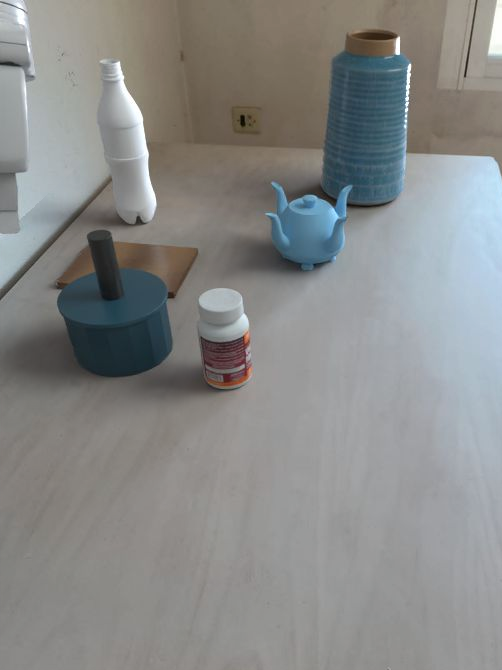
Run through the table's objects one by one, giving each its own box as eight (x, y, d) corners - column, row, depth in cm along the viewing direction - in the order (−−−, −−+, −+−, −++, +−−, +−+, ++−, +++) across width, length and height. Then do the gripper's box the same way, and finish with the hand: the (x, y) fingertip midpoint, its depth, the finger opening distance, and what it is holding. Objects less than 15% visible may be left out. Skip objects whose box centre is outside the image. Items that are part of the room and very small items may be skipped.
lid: (40, 328, 75) (17, 257, 69) (84, 272, 85) (67, 206, 79) (149, 337, 74) (135, 267, 68) (181, 280, 84) (171, 214, 78)
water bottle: (154, 227, 110) (127, 68, 93) (113, 226, 110) (78, 66, 93) (162, 210, 115) (138, 56, 98) (123, 209, 115) (92, 54, 98)
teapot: (345, 279, 99) (348, 218, 92) (261, 273, 99) (259, 212, 92) (349, 241, 108) (352, 183, 101) (273, 236, 109) (271, 178, 102)
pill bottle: (259, 384, 79) (255, 307, 71) (212, 396, 77) (202, 318, 69) (242, 357, 83) (237, 281, 76) (197, 368, 81) (187, 291, 74)
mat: (58, 288, 95) (56, 282, 94) (93, 245, 105) (92, 239, 104) (174, 298, 93) (173, 292, 93) (198, 253, 104) (198, 248, 103)
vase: (326, 172, 130) (331, 21, 112) (405, 178, 129) (422, 26, 111) (315, 205, 118) (318, 42, 100) (401, 212, 117) (420, 48, 99)
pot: (60, 371, 80) (44, 322, 75) (97, 317, 89) (85, 270, 84) (156, 380, 79) (146, 331, 74) (183, 325, 88) (176, 277, 83)
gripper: (-70, 67, 58) (-41, 224, 63) (-72, 20, 41) (-32, 239, 46) (5, 73, 61) (28, 223, 66) (31, 32, 44) (59, 236, 49)
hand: (3, 229), depth 56 cm, fingers open, 8 cm apart
